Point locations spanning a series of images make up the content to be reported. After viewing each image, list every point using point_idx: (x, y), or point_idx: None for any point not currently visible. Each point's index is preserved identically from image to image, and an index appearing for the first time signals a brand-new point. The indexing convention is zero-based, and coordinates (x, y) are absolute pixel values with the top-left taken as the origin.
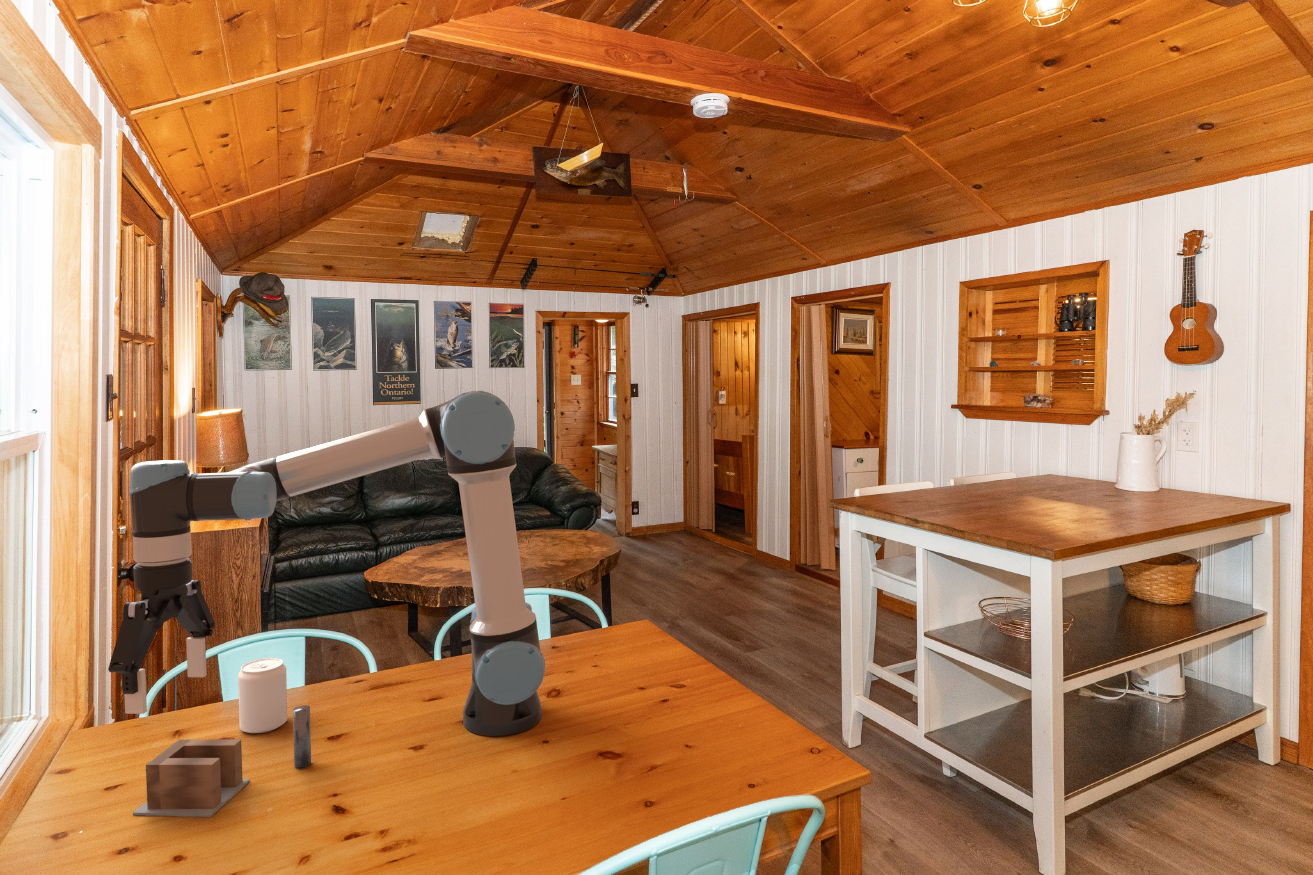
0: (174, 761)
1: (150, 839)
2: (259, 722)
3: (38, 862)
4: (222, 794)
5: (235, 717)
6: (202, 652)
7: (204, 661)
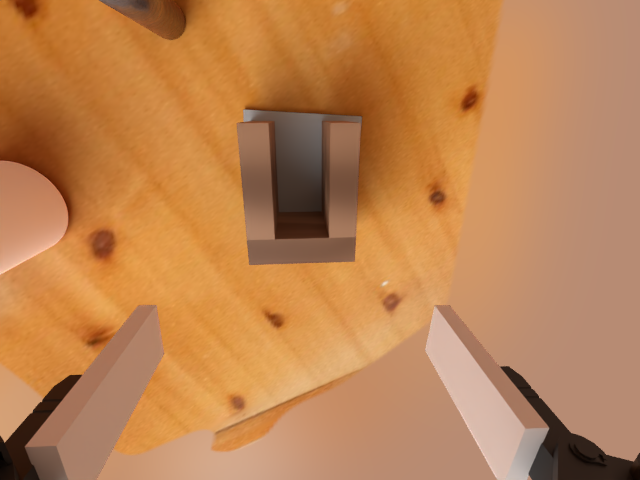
0: (344, 215)
1: (414, 177)
2: (45, 198)
3: (447, 285)
4: (298, 132)
5: (10, 281)
6: (106, 377)
7: (119, 343)
